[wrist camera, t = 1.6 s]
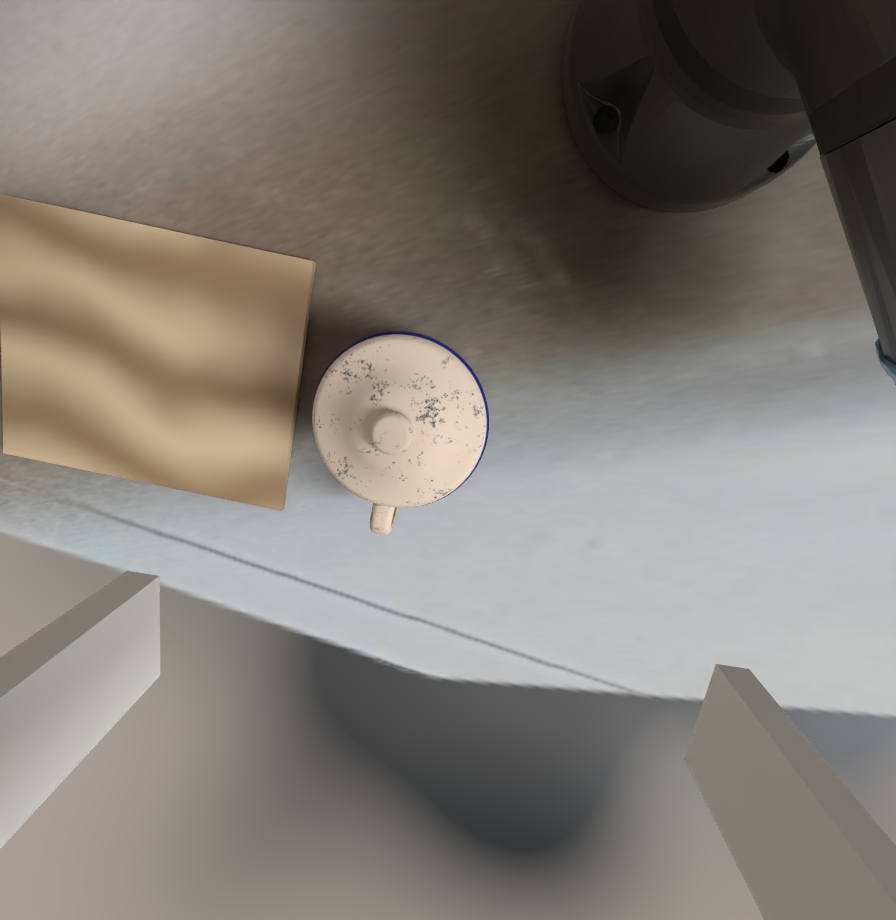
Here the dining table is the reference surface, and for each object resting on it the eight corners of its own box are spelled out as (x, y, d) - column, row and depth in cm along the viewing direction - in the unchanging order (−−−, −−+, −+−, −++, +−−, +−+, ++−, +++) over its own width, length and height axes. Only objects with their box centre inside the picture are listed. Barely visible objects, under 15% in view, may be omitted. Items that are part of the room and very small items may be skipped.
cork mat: (6, 196, 31) (-3, 193, 30) (315, 262, 31) (313, 261, 30) (11, 451, 35) (3, 453, 34) (284, 507, 35) (281, 510, 35)
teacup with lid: (364, 318, 32) (308, 306, 20) (498, 352, 32) (516, 359, 21) (331, 488, 35) (266, 559, 23) (454, 518, 35) (449, 603, 24)
